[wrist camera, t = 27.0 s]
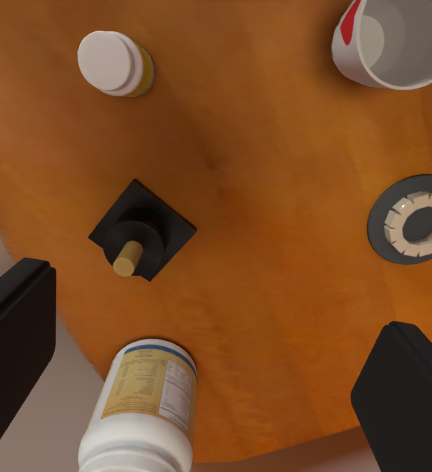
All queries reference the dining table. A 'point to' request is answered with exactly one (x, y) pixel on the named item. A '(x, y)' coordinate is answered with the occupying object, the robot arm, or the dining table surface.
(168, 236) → the ring holder
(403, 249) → the ring
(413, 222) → the coaster
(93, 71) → the supplement bottle
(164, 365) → the supplement tub
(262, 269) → the dining table surface
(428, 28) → the cup
